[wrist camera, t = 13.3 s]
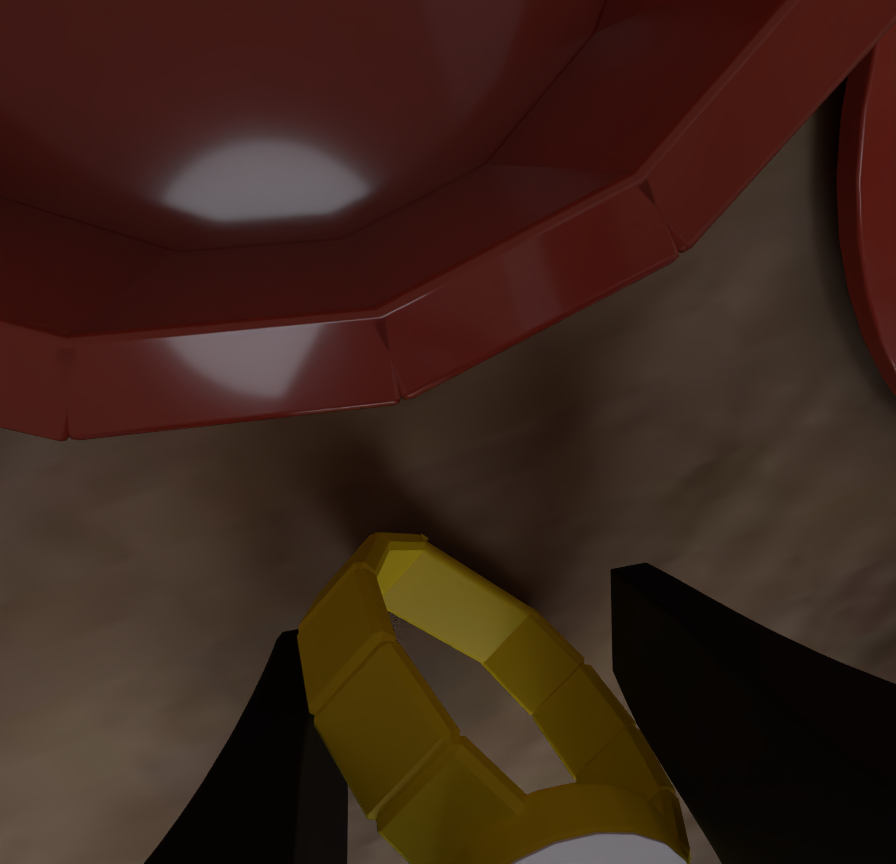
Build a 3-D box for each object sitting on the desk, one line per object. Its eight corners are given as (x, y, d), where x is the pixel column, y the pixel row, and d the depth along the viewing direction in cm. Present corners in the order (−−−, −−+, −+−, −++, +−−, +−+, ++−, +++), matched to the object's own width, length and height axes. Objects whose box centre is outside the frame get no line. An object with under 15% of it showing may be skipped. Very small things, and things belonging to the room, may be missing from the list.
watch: (271, 571, 12) (237, 918, 7) (376, 448, 12) (432, 711, 6) (525, 724, 14) (657, 1080, 9) (622, 625, 14) (826, 936, 8)
